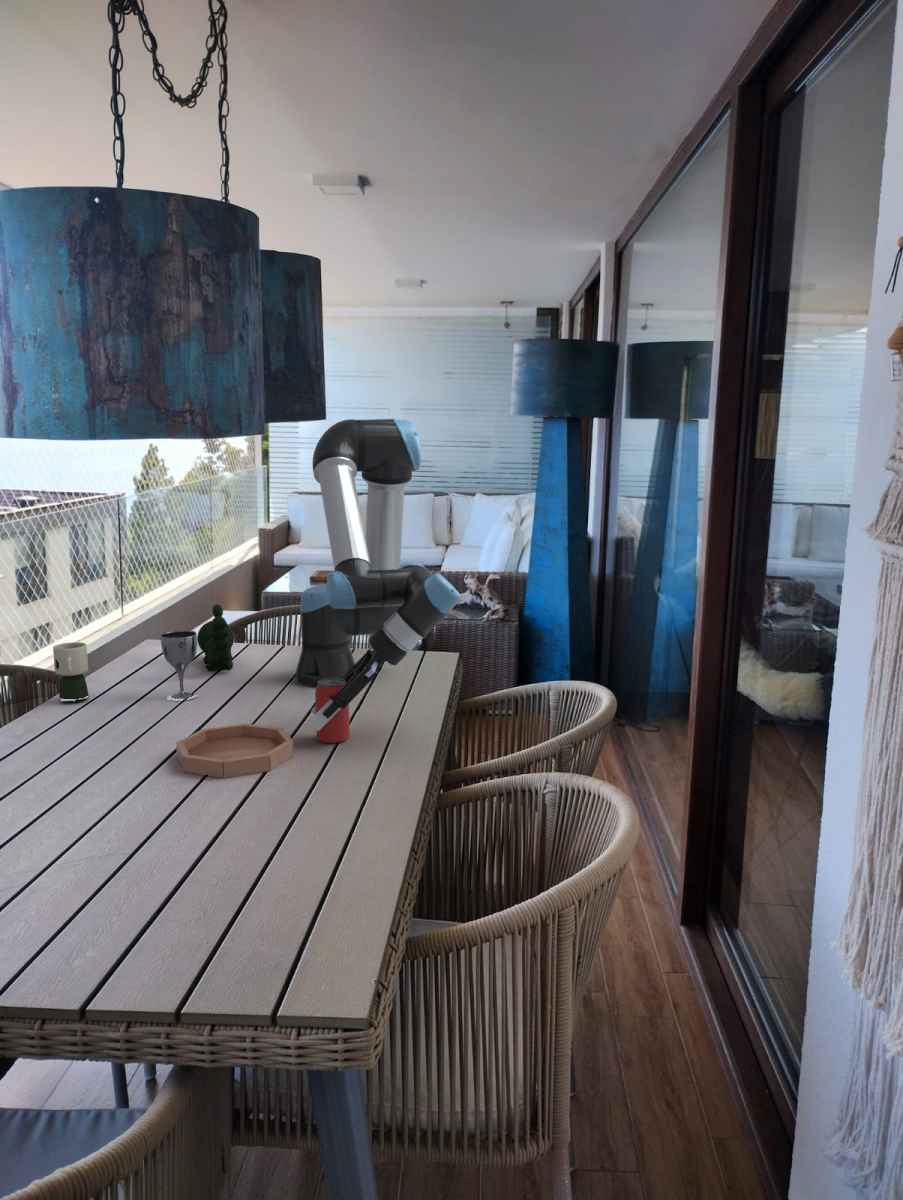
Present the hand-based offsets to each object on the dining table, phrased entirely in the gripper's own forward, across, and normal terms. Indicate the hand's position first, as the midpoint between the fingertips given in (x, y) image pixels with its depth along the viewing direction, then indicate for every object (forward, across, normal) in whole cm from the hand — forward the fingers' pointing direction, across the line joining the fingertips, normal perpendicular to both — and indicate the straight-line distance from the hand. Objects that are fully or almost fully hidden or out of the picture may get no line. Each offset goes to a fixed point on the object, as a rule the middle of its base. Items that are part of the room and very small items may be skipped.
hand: (314, 720), depth 190 cm
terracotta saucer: (+13, -9, +8) cm, 17 cm away
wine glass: (+26, +32, +20) cm, 46 cm away
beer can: (0, 0, -6) cm, 6 cm away
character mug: (+43, +32, +37) cm, 65 cm away
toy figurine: (+24, +60, +18) cm, 67 cm away
